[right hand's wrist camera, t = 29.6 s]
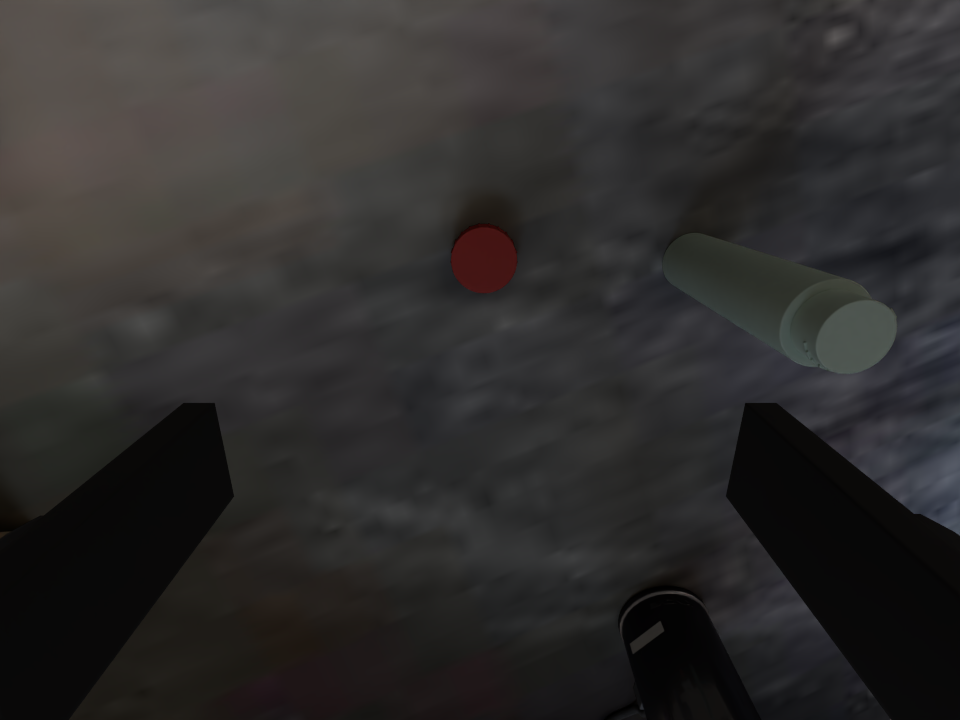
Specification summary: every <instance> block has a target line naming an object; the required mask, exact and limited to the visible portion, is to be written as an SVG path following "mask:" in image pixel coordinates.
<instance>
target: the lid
mask: <svg viewBox="0 0 960 720" xmlns="http://www.w3.org/2000/svg"><path fill="white" fill-rule="evenodd" d="M513 244H514V243H513V240H512V239H510V237H509V236H508V234H507V232H504V231H503V230H502V229H500V228H499V226H497V227H496V226H494V225H490V223H488V224H480V223H478V225H474V226H469V228H468V229H466V230H465V231H464V232H461V235H460V236H459V237H458V239H456V240H455V245H454V248H452V251H451V253H452V256H451V265H452V270H453V273H454V275H455V277H456V278H457V280H458V281H459V282H460V283H461V284H462V285H463V286H464V287H466V288H467V289H469V290H471V291H474V292H478V293H490V292H494V291H497V290H499V289H501V288H502V287H504V286H505V285H506V284H507V283H508V282H509V281H510V280H511V278H512V277H513V275H514V273H515V270H516V266H517V255H516V253H517V251H516V249H515V248H514V245H513Z"/></svg>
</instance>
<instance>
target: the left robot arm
mask: <svg viewBox="0 0 960 720" xmlns="http://www.w3.org/2000/svg"><path fill="white" fill-rule="evenodd" d="M618 627H619V631H620V634H621V638H622V640H623V642H624V644H625V648H626V651H627V654H628V658H629V662H630V665H631V668H632V672H633V675H634V678H635V683H634V687H633V689H634V692H635V696H636V699H637V703H638V705H633V706H630V707H628V708H625V709H623V710H620V711H618V712H616V713H614V714H613V715H611V716H610V717H609V718H608V719H607V720H622V719H624V718H626V717H629V716H631V715H634V714H637V713H639V714H640V715H641V716H642V717H645V718H647V720H761V718H760V716H759V714H758V712H757V710H756V708H755V706H754V704H753V702H752V700H751V698H750V696H749V694H748V692H747V690H746V688H745V687H744V685H743V683H742V681H741V679H740V677H739V675H738V673H737V671H736V669H735V667H734V665H733V663H732V661H731V659H730V657H729V655H728V653H727V651H726V649H725V647H724V645H723V643H722V641H721V639H720V637H719V635H718V633H717V631H716V629H715V627H714V625H713V623H712V621H711V619H710V617H709V613H708V611H707V609H706V607H705V605H704V603H703V602H702V600H701V599H700V598H699V597H698V596H697V595H695V594H694V593H692V592H690V591H688V590H686V589H683V588H679V587H657V588H653V589H649V590H647V591H644V592H642V593H640V594H638V595H637V596H635V597H634V598H632V599H631V600H630V601H629V602H628V603H627V604H626V605H625V606H624V608H623V609H622V611H621V613H620V616H619V620H618Z"/></svg>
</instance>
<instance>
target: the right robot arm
mask: <svg viewBox="0 0 960 720" xmlns="http://www.w3.org/2000/svg"><path fill="white" fill-rule="evenodd" d="M233 497H234V494H233V489H232V484H231V480H230V475H229V470H228V465H227V460H226V456H225V451H224V446H223V441H222V436H221V431H220V427H219V422H218V417H217V412H216V407H215V403H183V404H182V405H181V406H179V407H178V408H177V409H176V410H174V411H173V412H172V413H171V414H169V415H168V416H167V417H166V418H164V419H163V420H162V421H161V422H159V423H158V424H157V425H156V426H155V427H153V428H152V429H151V430H150V431H148V432H147V433H146V434H145V435H143V436H142V437H141V438H140V439H138V440H137V441H136V442H135V443H133V444H132V445H131V446H130V447H128V448H127V449H126V450H125V451H124V452H122V453H121V454H120V455H119V456H117V457H116V458H115V459H114V460H112V461H111V462H110V463H109V464H107V465H106V466H105V467H104V468H102V469H101V470H100V471H99V472H97V473H96V474H95V475H94V476H93V477H91V478H90V479H89V480H88V481H86V482H85V483H84V484H83V485H81V486H80V487H79V488H78V489H76V490H75V491H74V492H73V493H71V494H70V495H69V496H68V497H66V498H65V499H64V500H63V501H62V502H60V503H59V504H58V505H57V506H55V507H54V508H53V509H52V510H50V511H49V512H48V513H47V514H45V515H44V516H39V517H37V518H35V519H33V520H31V521H29V522H28V523H26V524H24V525H22V526H20V527H18V528H16V529H15V530H13V531H11V532H9V533H7V534H5V535H4V536H3V537H2V538H0V720H69V719H70V717H71V716H72V714H73V713H74V712H75V710H76V709H77V708H78V706H79V705H80V704H81V702H82V701H83V700H84V698H85V697H86V696H87V694H88V693H89V691H90V690H91V689H92V687H93V686H94V685H95V683H96V682H97V681H98V679H99V678H100V677H101V675H102V674H103V673H104V671H105V670H106V669H107V667H108V666H109V664H110V663H111V662H112V660H113V659H114V658H115V656H116V655H117V654H118V652H119V651H120V650H121V648H122V647H123V646H124V644H125V643H126V642H127V640H128V639H129V637H130V636H131V635H132V633H133V632H134V631H135V629H136V628H137V627H138V625H139V624H140V623H141V621H142V620H143V619H144V617H145V616H146V615H147V613H148V612H149V610H150V609H151V608H152V606H153V605H154V604H155V602H156V601H157V600H158V598H159V597H160V596H161V594H162V593H163V592H164V590H165V589H166V587H167V586H168V585H169V583H170V582H171V581H172V579H173V578H174V577H175V575H176V574H177V573H178V571H179V570H180V569H181V567H182V566H183V565H184V563H185V562H186V560H187V559H188V558H189V556H190V555H191V554H192V552H193V551H194V550H195V548H196V547H197V546H198V544H199V543H200V542H201V540H202V539H203V538H204V536H205V535H206V533H207V532H208V531H209V529H210V528H211V527H212V525H213V524H214V523H215V521H216V520H217V519H218V517H219V516H220V515H221V513H222V512H223V511H224V509H225V508H226V506H227V505H228V504H229V502H230V501H231V500H232V498H233ZM726 497H727V498H728V500H729V501H730V502H731V504H732V505H733V506H734V508H735V509H736V511H737V512H738V513H739V515H740V516H741V517H742V519H743V520H744V521H745V523H746V524H747V525H748V527H749V528H750V529H751V531H752V532H753V533H754V535H755V536H756V538H757V539H758V540H759V542H760V543H761V544H762V546H763V547H764V548H765V550H766V551H767V552H768V554H769V555H770V556H771V558H772V559H773V560H774V562H775V563H776V565H777V566H778V567H779V569H780V570H781V571H782V573H783V574H784V575H785V577H786V578H787V579H788V581H789V582H790V583H791V585H792V586H793V588H794V589H795V590H796V592H797V593H798V594H799V596H800V597H801V598H802V600H803V601H804V602H805V604H806V605H807V606H808V608H809V609H810V610H811V612H812V613H813V615H814V616H815V617H816V619H817V620H818V621H819V623H820V624H821V625H822V627H823V628H824V629H825V631H826V632H827V633H828V635H829V636H830V637H831V639H832V640H833V642H834V643H835V644H836V646H837V647H838V648H839V650H840V651H841V652H842V654H843V655H844V656H845V658H846V659H847V660H848V662H849V663H850V664H851V666H852V667H853V669H854V670H855V671H856V673H857V674H858V675H859V677H860V678H861V679H862V681H863V682H864V683H865V685H866V686H867V687H868V689H869V690H870V692H871V693H872V694H873V696H874V697H875V698H876V700H877V701H878V702H879V704H880V705H881V706H882V708H883V709H884V710H885V712H886V713H887V714H888V716H889V717H890V719H891V720H960V536H959V535H958V534H956V533H955V532H953V531H952V530H950V529H948V528H946V527H944V526H942V525H940V524H938V523H936V522H935V521H933V520H931V519H929V518H927V517H925V516H923V515H921V514H913V513H912V512H911V511H910V510H908V509H907V508H906V507H905V506H903V505H902V504H901V503H900V502H898V501H897V500H896V499H895V498H894V497H892V496H891V495H890V494H889V493H887V492H886V491H885V490H884V489H882V488H881V487H880V486H879V485H877V484H876V483H875V482H874V481H872V480H871V479H870V478H869V477H867V476H866V475H865V474H864V473H863V472H861V471H860V470H859V469H858V468H856V467H855V466H854V465H853V464H851V463H850V462H849V461H848V460H846V459H845V458H844V457H843V456H841V455H840V454H839V453H838V452H836V451H835V450H834V449H833V448H832V447H830V446H829V445H828V444H827V443H825V442H824V441H823V440H822V439H820V438H819V437H818V436H817V435H815V434H814V433H813V432H812V431H810V430H809V429H808V428H807V427H805V426H804V425H803V424H802V423H801V422H799V421H798V420H797V419H796V418H794V417H793V416H792V415H791V414H789V413H788V412H787V411H786V410H784V409H783V408H782V407H781V406H779V405H778V404H777V403H745V407H744V412H743V417H742V422H741V427H740V431H739V436H738V441H737V446H736V451H735V456H734V460H733V465H732V470H731V475H730V480H729V484H728V489H727V494H726Z"/></svg>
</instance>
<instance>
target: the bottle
mask: <svg viewBox="0 0 960 720" xmlns="http://www.w3.org/2000/svg"><path fill="white" fill-rule="evenodd" d="M662 268H663V273H664V276H665V277H666V279H667V280H668V282H669V283H671V284H672V285H673V286H675V287H676V288H678V289H680V290H681V291H683V292H684V293H686V294H688V295H689V296H691V297H692V298H694V299H696V300H697V301H699V302H700V303H702V304H703V305H705V306H707V307H708V308H710V309H711V310H713V311H715V312H716V313H718V314H719V315H721V316H723V317H724V318H726V319H727V320H729V321H731V322H732V323H734V324H735V325H737V326H739V327H740V328H742V329H743V330H745V331H746V332H748V333H750V334H751V335H753V336H754V337H756V338H758V339H759V340H761V341H762V342H764V343H766V344H767V345H769V346H770V347H772V348H774V349H775V350H777V351H778V352H780V353H781V354H783V355H785V356H786V357H788V358H789V359H791V360H793V361H794V362H796V363H798V364H801V365H804V366H809V367H820V368H822V369H825V370H827V371H832V372H835V373H839V374H852V373H857V372H861V371H863V370H866V369H868V368H870V367H872V366H873V365H875V364H876V363H877V362H879V361H880V360H881V359H882V358H883V357H884V356H885V355H886V354H887V352H888V351H889V350H890V348H891V346H892V344H893V342H894V340H895V336H896V331H897V322H896V318H897V316H896V315H895V313H894V311H893V309H892V308H888V307H887V306H886V305H884V304H883V303H881V302H878V301H875V300H873V299H871V297H870V295H869V293H868V292H867V291H866V290H865V288H863V287H862V286H861V285H860V284H858V283H856V282H854V281H851V280H848V279H845V278H842V277H839V276H835V275H832V274H829V273H826V272H823V271H819V270H816V269H813V268H810V267H807V266H803V265H800V264H797V263H794V262H791V261H788V260H784V259H781V258H778V257H775V256H772V255H768V254H765V253H762V252H759V251H756V250H752V249H749V248H746V247H743V246H740V245H737V244H733V243H730V242H727V241H724V240H721V239H717V238H714V237H711V236H708V235H705V234H701V233H689V234H685V235H683V236H680V237H679V238H677V239H676V240H674V241H673V242H672V243H671V244H670V246H669V247H668V248H667V250H666V252H665V254H664V257H663V262H662Z"/></svg>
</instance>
